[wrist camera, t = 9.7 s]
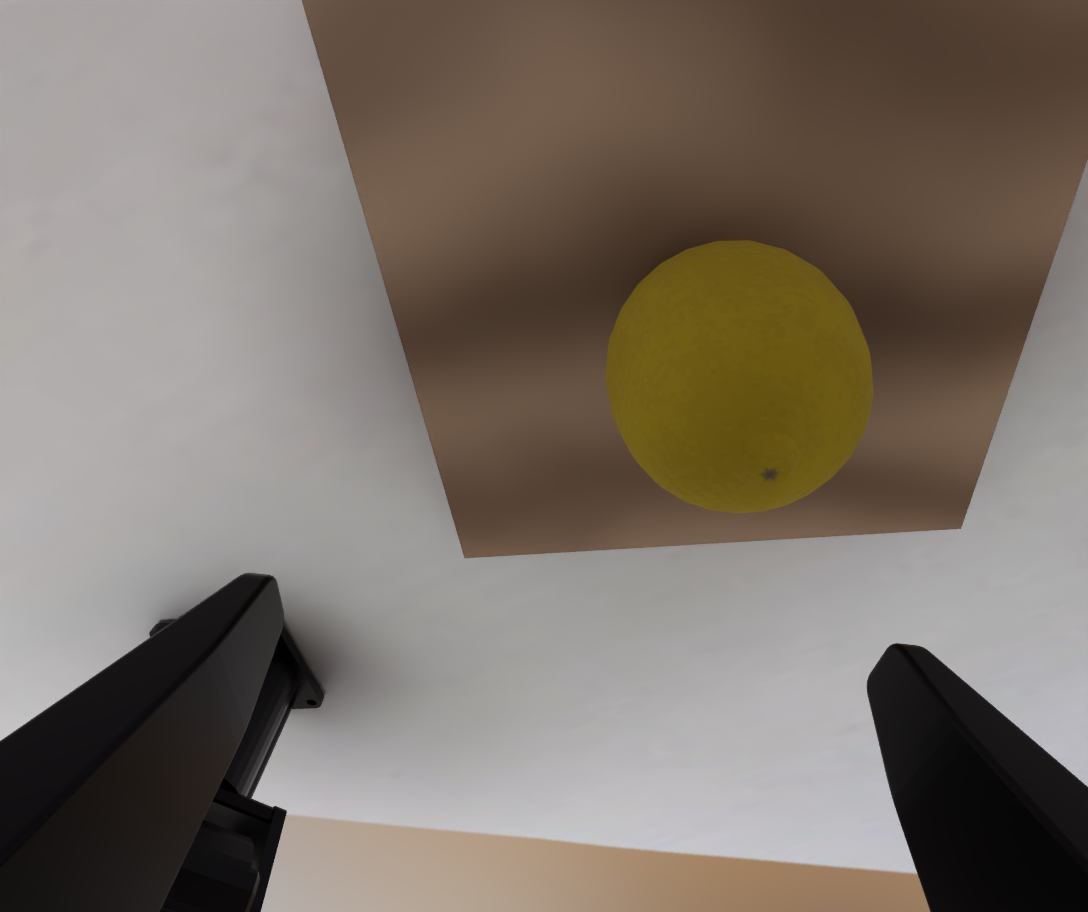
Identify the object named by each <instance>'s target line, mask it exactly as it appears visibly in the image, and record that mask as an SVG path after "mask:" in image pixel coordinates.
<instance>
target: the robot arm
mask: <svg viewBox="0 0 1088 912" xmlns="http://www.w3.org/2000/svg"><path fill="white" fill-rule="evenodd" d="M283 622H284V611H283V607H282V602H281V598H280V593H279V588H278V584H277V581H276V579H275V578H274V577H273V576H271V575H265V574H256V573H245V574H243V575H240V576H239V577H237V578H236V579H234V580H233V581H231V582H230V583H228V584H227V585H226V586H224V587H223V588H221V589H220V590H218V591H217V592H215V593H214V594H213V595H211V596H210V597H208V598H207V599H205V600H204V601H202V602H201V603H199V604H198V605H197V606H195V607H194V608H192V609H191V610H189V611H188V612H186V613H185V614H184V615H182V616H181V617H179V618H178V619H176V620H175V621H173V622H171V623H158V624H156V625H155V626H154V627H153V628H152V630H151V631H150V633H149V635H150V638H149V639H147V640H146V641H144V642H143V643H142V644H140V645H139V646H137V647H136V648H134V649H133V650H131V651H130V652H129V653H127V654H126V655H124V656H123V657H121V658H120V659H118V660H117V661H115V662H114V663H113V664H111V665H110V666H108V667H107V668H105V669H104V670H102V671H101V672H100V673H98V674H97V675H95V676H94V677H92V678H91V679H89V680H88V681H87V682H85V683H84V684H82V685H81V686H79V687H78V688H76V689H75V690H73V691H72V692H71V693H69V694H68V695H66V696H65V697H63V698H62V699H60V700H59V701H58V702H56V703H55V704H53V705H52V706H50V707H49V708H47V709H46V710H44V711H43V712H42V713H40V714H39V715H37V716H36V717H34V718H33V719H31V720H30V721H29V722H27V723H26V724H24V725H23V726H21V727H20V728H18V729H17V730H16V731H14V732H13V733H11V734H10V735H8V736H7V737H5V738H4V739H2V740H1V741H0V912H261V908H262V904H263V900H264V897H265V893H266V889H267V885H268V881H269V878H270V874H271V870H272V866H273V863H274V859H275V855H276V851H277V847H278V843H279V840H280V836H281V832H282V828H283V824H284V820H285V817H286V813H287V811H286V810H284V809H282V808H279V807H277V806H274V807H270V806H268V805H265V804H263V803H261V802H258V801H256V800H253V799H251V798H252V796H253V794H254V791H255V789H256V787H257V785H258V783H259V780H260V778H261V776H262V774H263V771H264V769H265V767H266V765H267V763H268V760H269V758H270V756H271V754H272V752H273V749H274V747H275V745H276V743H277V740H278V738H279V736H280V734H281V732H282V729H283V727H284V725H285V723H286V720H287V718H288V716H289V714H290V712H291V709H304V708H318V707H320V706H321V704H322V702H323V699H324V695H323V693H322V691H321V690H320V688H319V686H318V685H317V683H316V681H315V679H314V678H313V676H312V674H311V673H310V671H309V669H308V667H307V666H306V664H305V662H304V660H303V659H302V657H301V655H300V654H299V652H298V650H297V648H296V647H295V645H294V643H293V641H292V640H291V638H290V636H289V635H288V633H287V631H286V629H285V628H284V626H283ZM867 694H868V698H869V703H870V707H871V711H872V715H873V720H874V724H875V728H876V733H877V737H878V741H879V745H880V750H881V754H882V758H883V763H884V767H885V771H886V775H887V780H888V784H889V787H890V791H891V795H892V798H893V802H894V805H895V808H896V811H897V814H898V817H899V820H900V823H901V826H902V829H903V832H904V835H905V838H906V841H907V844H908V847H909V850H910V853H911V856H912V859H913V862H914V865H915V868H916V870H917V873H918V876H919V879H920V882H921V885H922V888H923V891H924V894H925V897H926V900H927V903H928V905H929V909H930V912H1088V787H1087V786H1086V785H1085V784H1084V783H1083V782H1081V781H1080V780H1079V779H1078V778H1077V777H1076V776H1074V775H1073V774H1072V773H1071V772H1070V771H1069V770H1067V769H1066V768H1065V767H1064V766H1063V765H1062V764H1060V763H1059V762H1058V761H1057V760H1056V759H1054V758H1053V757H1052V756H1051V755H1050V754H1049V753H1047V752H1046V751H1045V750H1044V749H1043V748H1042V747H1040V746H1039V745H1038V744H1037V743H1036V742H1035V741H1033V740H1032V739H1031V738H1030V737H1029V736H1028V735H1026V734H1025V733H1024V732H1023V731H1022V730H1021V729H1019V728H1018V727H1017V726H1016V725H1015V724H1014V723H1012V722H1011V721H1010V720H1009V719H1008V718H1007V717H1005V716H1004V715H1003V714H1002V713H1001V712H1000V711H998V710H997V709H996V708H995V707H994V706H993V705H991V704H990V703H989V702H988V701H987V700H986V699H984V698H983V697H982V696H981V695H980V694H978V693H977V692H976V691H975V690H974V689H973V688H971V687H970V686H969V685H968V684H967V683H966V682H964V681H963V680H962V679H961V678H960V677H959V676H957V675H956V674H955V673H954V672H953V671H952V670H950V669H949V668H948V667H947V666H946V665H945V664H943V663H942V662H941V661H940V660H939V659H938V658H936V657H935V656H934V655H933V654H932V653H931V652H929V651H928V650H927V649H925V648H923V647H921V646H916V645H908V644H899V643H896V644H892V645H890V646H889V647H888V648H887V649H886V651H885V652H884V654H883V655H882V657H881V658H880V660H879V661H878V663H877V664H876V666H875V667H874V669H873V670H872V672H871V673H870V675H869V677H868V680H867Z"/></svg>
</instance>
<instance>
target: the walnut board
mask: <svg viewBox="0 0 1088 912" xmlns="http://www.w3.org/2000/svg"><path fill="white" fill-rule="evenodd" d="M302 3H303V6H304V10H305V13H306V17H307V20H308V23H309V27H310V30H311V34H312V37H313V41H314V44H315V47H316V51H317V54H318V58H319V61H320V65H321V68H322V71H323V75H324V78H325V82H326V85H327V89H328V92H329V95H330V99H331V102H332V106H333V109H334V112H335V116H336V119H337V123H338V126H339V130H340V133H341V136H342V140H343V143H344V147H345V150H346V154H347V157H348V160H349V164H350V167H351V171H352V174H353V178H354V181H355V184H356V188H357V191H358V195H359V198H360V202H361V205H362V208H363V212H364V215H365V219H366V222H367V225H368V229H369V232H370V236H371V239H372V243H373V246H374V249H375V253H376V256H377V260H378V263H379V267H380V270H381V273H382V277H383V280H384V284H385V287H386V291H387V294H388V297H389V301H390V304H391V308H392V311H393V315H394V318H395V321H396V325H397V328H398V332H399V335H400V339H401V342H402V345H403V349H404V352H405V356H406V359H407V362H408V366H409V369H410V373H411V376H412V380H413V383H414V386H415V390H416V393H417V397H418V400H419V404H420V407H421V410H422V414H423V417H424V421H425V424H426V428H427V431H428V434H429V438H430V441H431V445H432V448H433V452H434V455H435V458H436V462H437V465H438V469H439V472H440V475H441V479H442V482H443V486H444V489H445V493H446V496H447V499H448V503H449V506H450V510H451V513H452V517H453V520H454V523H455V527H456V530H457V534H458V537H459V541H460V544H461V547H462V551H463V554H464V558H475V557H492V556H508V555H525V554H542V553H559V552H576V551H592V550H609V549H626V548H643V547H660V546H677V545H693V544H710V543H727V542H744V541H761V540H777V539H794V538H811V537H828V536H845V535H861V534H878V533H895V532H912V531H929V530H946V529H961V527H962V524H963V521H964V518H965V515H966V512H967V509H968V506H969V504H970V501H971V498H972V495H973V492H974V489H975V486H976V483H977V480H978V477H979V474H980V471H981V469H982V466H983V463H984V460H985V457H986V454H987V451H988V448H989V445H990V442H991V439H992V436H993V434H994V431H995V428H996V425H997V422H998V419H999V416H1000V413H1001V410H1002V407H1003V404H1004V401H1005V398H1006V396H1007V393H1008V390H1009V387H1010V384H1011V381H1012V378H1013V375H1014V372H1015V369H1016V366H1017V363H1018V361H1019V358H1020V355H1021V352H1022V349H1023V346H1024V343H1025V340H1026V337H1027V334H1028V331H1029V328H1030V325H1031V323H1032V320H1033V317H1034V314H1035V311H1036V308H1037V305H1038V302H1039V299H1040V296H1041V293H1042V290H1043V288H1044V285H1045V282H1046V279H1047V276H1048V273H1049V270H1050V267H1051V264H1052V261H1053V258H1054V255H1055V253H1056V250H1057V247H1058V244H1059V241H1060V238H1061V235H1062V232H1063V229H1064V226H1065V223H1066V220H1067V217H1068V215H1069V212H1070V209H1071V206H1072V203H1073V200H1074V197H1075V194H1076V191H1077V188H1078V185H1079V182H1080V180H1081V177H1082V174H1083V171H1084V168H1085V165H1086V162H1087V159H1088V0H302ZM739 240H750V241H754V242H758V243H762V244H766V245H770V246H774V247H778V248H782V249H785V250H787V251H789V252H791V253H793V254H794V255H796V256H798V257H799V258H801V259H803V260H805V261H806V262H808V263H810V264H811V265H813V266H815V267H816V268H818V269H819V270H820V271H822V272H823V273H824V274H825V275H826V277H827V278H828V279H829V280H830V281H831V282H832V283H833V285H834V286H835V287H836V288H837V289H838V290H839V291H840V292H841V294H842V295H843V296H844V297H845V298H846V299H847V301H848V302H849V303H850V305H851V307H852V309H853V311H854V313H855V315H856V318H857V320H858V323H859V325H860V328H861V330H862V332H863V335H864V337H865V340H866V342H867V345H868V348H869V352H870V357H871V365H872V379H873V400H872V405H871V410H870V414H869V418H868V422H867V426H866V429H865V431H864V433H863V436H862V437H861V439H860V441H859V443H858V445H857V446H856V448H855V450H854V452H853V454H852V455H851V457H850V459H849V460H848V461H847V462H846V463H845V464H844V465H843V466H842V467H841V468H840V470H839V471H838V472H837V473H836V474H835V475H834V476H833V477H832V478H831V479H830V480H828V481H827V482H826V483H824V484H823V485H822V486H820V487H819V488H817V489H816V490H815V491H813V492H812V493H811V494H809V495H807V496H805V497H803V498H801V499H799V500H797V501H795V502H792V503H790V504H788V505H785V506H782V507H778V508H774V509H770V510H767V511H761V512H749V513H729V512H720V511H711V510H708V509H705V508H702V507H699V506H696V505H693V504H690V503H688V502H686V501H683V500H681V499H680V498H678V497H676V496H675V495H673V494H672V493H670V492H668V491H667V490H665V489H663V488H662V487H660V486H659V485H658V484H657V483H656V482H655V481H654V480H653V479H652V478H651V477H650V476H649V475H648V474H647V473H646V472H645V471H644V469H643V468H642V467H641V466H640V465H639V464H638V463H637V462H636V460H635V459H634V458H633V456H632V455H631V453H630V451H629V449H628V447H627V446H626V444H625V442H624V440H623V438H622V436H621V434H620V432H619V430H618V428H617V426H616V424H615V421H614V419H613V416H612V412H611V407H610V402H609V397H608V391H607V386H606V380H605V375H606V362H607V352H608V343H609V339H610V336H611V333H612V331H613V328H614V325H615V323H616V320H617V318H618V315H619V312H620V310H621V308H622V306H623V305H624V304H625V302H626V301H627V299H628V298H629V296H630V295H631V293H632V292H633V290H634V289H635V288H636V286H637V285H638V284H639V282H641V281H642V280H643V279H644V278H645V277H646V276H647V275H648V274H650V273H651V272H652V271H653V270H654V269H655V268H656V267H657V266H658V265H660V264H661V263H662V262H664V261H666V260H668V259H670V258H672V257H673V256H675V255H677V254H679V253H681V252H683V251H684V250H686V249H689V248H693V247H697V246H700V245H704V244H708V243H711V242H715V241H739Z"/></svg>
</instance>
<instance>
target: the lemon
mask: <svg viewBox="0 0 1088 912" xmlns="http://www.w3.org/2000/svg"><path fill="white" fill-rule="evenodd" d="M605 380H606V386H607V391H608V397H609V402H610V407H611V412H612V416H613V419H614V421H615V424H616V426H617V428H618V430H619V432H620V434H621V436H622V438H623V440H624V442H625V444H626V446H627V447H628V449H629V451H630V453H631V455H632V456H633V458H634V459H635V460H636V462H637V463H638V464H639V465H640V466H641V467H642V468H643V469H644V471H645V472H646V473H647V474H648V475H649V476H650V477H651V478H652V479H653V480H654V481H655V482H656V483H657V484H658V485H659V486H660V487H662V488H663V489H665V490H667V491H668V492H670V493H672V494H673V495H675V496H676V497H678V498H680V499H681V500H683V501H686V502H688V503H690V504H693V505H696V506H699V507H702V508H705V509H708V510H711V511H720V512H729V513H749V512H761V511H767V510H770V509H774V508H778V507H782V506H785V505H788V504H790V503H792V502H795V501H797V500H799V499H801V498H803V497H805V496H807V495H809V494H811V493H812V492H813V491H815V490H816V489H817V488H819V487H820V486H822V485H823V484H824V483H826V482H827V481H828V480H830V479H831V478H832V477H833V476H834V475H835V474H836V473H837V472H838V471H839V470H840V468H841V467H842V466H843V465H844V464H845V463H846V462H847V461H848V460H849V459H850V457H851V455H852V454H853V452H854V450H855V448H856V446H857V445H858V443H859V441H860V439H861V437H862V436H863V433H864V431H865V429H866V426H867V422H868V418H869V414H870V410H871V405H872V400H873V379H872V365H871V357H870V352H869V348H868V345H867V342H866V340H865V337H864V335H863V332H862V330H861V328H860V325H859V323H858V320H857V318H856V315H855V313H854V311H853V309H852V307H851V305H850V303H849V302H848V301H847V299H846V298H845V297H844V296H843V295H842V294H841V292H840V291H839V290H838V289H837V288H836V287H835V286H834V285H833V283H832V282H831V281H830V280H829V279H828V278H827V277H826V275H825V274H824V273H823V272H822V271H820V270H819V269H818V268H816V267H815V266H813V265H811V264H810V263H808V262H806V261H805V260H803V259H801V258H799V257H798V256H796V255H794V254H793V253H791V252H789V251H787V250H785V249H782V248H778V247H774V246H770V245H766V244H762V243H758V242H754V241H750V240H739V241H715V242H711V243H708V244H704V245H700V246H697V247H693V248H689V249H686V250H684V251H683V252H681V253H679V254H677V255H675V256H673V257H672V258H670V259H668V260H666V261H664V262H662V263H661V264H660V265H658V266H657V267H656V268H655V269H654V270H653V271H652V272H651V273H650V274H648V275H647V276H646V277H645V278H644V279H643V280H642V281H641V282H639V284H638V285H637V286H636V288H635V289H634V290H633V292H632V293H631V295H630V296H629V298H628V299H627V301H626V302H625V304H624V305H623V306H622V308H621V310H620V312H619V315H618V318H617V320H616V323H615V325H614V328H613V331H612V333H611V336H610V339H609V343H608V352H607V362H606V375H605Z"/></svg>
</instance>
